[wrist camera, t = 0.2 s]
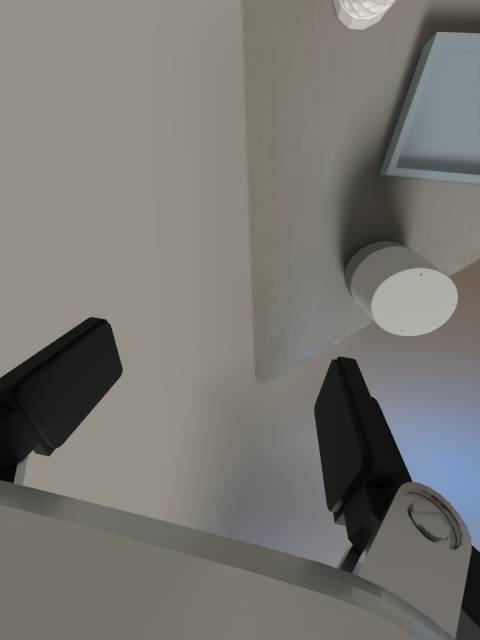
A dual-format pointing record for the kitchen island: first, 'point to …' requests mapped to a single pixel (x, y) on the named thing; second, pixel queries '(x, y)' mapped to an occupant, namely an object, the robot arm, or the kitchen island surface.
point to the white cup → (361, 12)
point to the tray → (440, 114)
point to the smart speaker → (400, 289)
